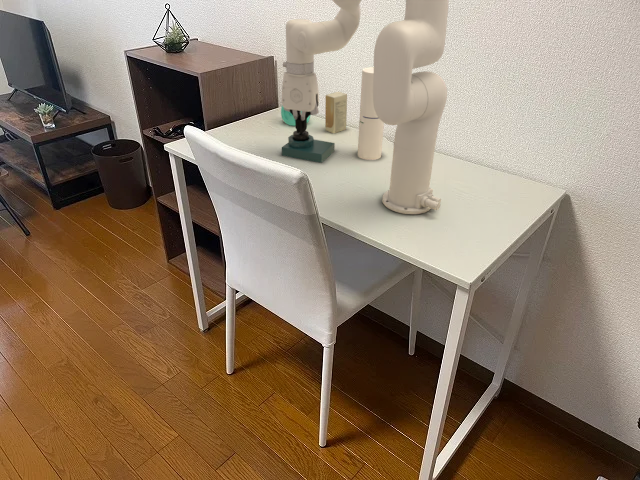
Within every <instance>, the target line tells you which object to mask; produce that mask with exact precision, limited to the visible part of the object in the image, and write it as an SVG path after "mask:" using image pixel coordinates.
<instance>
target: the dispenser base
mask: <svg viewBox="0 0 640 480" xmlns="http://www.w3.org/2000/svg"><path fill="white" fill-rule="evenodd" d="M287 140H288V141H287V143H285V144H284V145H283V146H281V156H282V157H287V158H294V159H299V160H305V161H310V162H315V163H319V164H322V163H323V162H324V161H325V160H327V158H329V157H330V156H331V155H332V154H333V153H334V152H335V150H336V149H335V146H336V145H335V144H336V143H335V142H332V141H325V140H320V139H315V138H314V136H313V135H311V134H309V140H306V141H295V140H293V134H290V135H289V136H288V138H287Z"/></svg>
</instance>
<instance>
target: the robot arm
mask: <svg viewBox="0 0 640 480" xmlns="http://www.w3.org/2000/svg"><path fill="white" fill-rule="evenodd" d="M331 1H332V2H333V3H334V4H335V5H336V6H337V7H339V8H340V9H339V11H338V12H337V13H336V16H335V17H334V18H333V19H332V20H326V21H324V20H323V21H317V22H313V21H311V20H310V19H305V18H295V19H289V20H288V21H286V24H285V52H286V57H285V58H286V61H283V62H282V67H283V68H285V70H286V71H284V73H283V78H282V84H281V107H282V106H283V107H284V110H286V111H288V112H290V113H291V114H292V115H293V117H294V119H295V125H296V126H295V129H296V131H297V133H303V132H305V131H307V128H308V123H307V118H308V117H309V116H310V115H311V116H314V115H315V116H316V115H318V114H319V108H318V107H319V104H320V94H319V93H320V92H319V82H318V77H317V74H316V72H315V55H320V54H324V53H329V52H330V53H331V52H336V51H340V50H342V49H343V48H345V47H346V46H347V45H348V43H349V42H350V41H351V40H352V38H353V36H354V35H355V34H356V32H357V30H358V29H359V25H360V23H361V22H360V21H361V6H360V4H361V2H362V0H331ZM448 13H449V0H405V10H404V19H403V20H397V21H392V22H389V23H388V24H387V25H385V26H384V27H383V28H382V29H381V30H380V32H379V34H378V35H377V38H376V41H375V45H374V48H373V49H374V50H373V67H374V76H373V102H374V108H375V112H376V114H377V116H378V118H379V119H380V120H381V121H382V122H383V123H384V125H388V126H396V127H395V133H394V141H393V151H392V161H391V171H390V181H389V190H387V191H385V192H384V193H383V195H382V200H381V201H382V203H383V205H384V206H385V208H387V209H389V210H390V211H392V212H395V213H399V214H404V215H419V214H424V213H427V212H429V211H430V210H435V211H439V209H440V208H441V202H442V199H441V198H440V197H437V196H434V195H433V191H434V188H432V187H430V185H431V178H432V171H433V166H434V165H433V163H434V156H435V150H436V144H437V139H438V138H437V137H438V133H439V127H440V123H441V119H442V116H443V114H444V110H445V107H446V104H447V97H448V89H447V84H446V82H445V81H444V79H443V77H442V76H440V75H439V74H437V73H435V72H433V71H427V70H426V71H424V70H423V71H417V72H414V73H413V70H414V69H415V70H416V69H419V68H423V67H427V66H431V65H434V64H436V63H437V62H438V61H439V60H440V59H441V58H442V57H443V54H444V51H445V45H446V37H447V27H448V25H447V24H448ZM301 111H302V113H301ZM311 116H310V117H311Z"/></svg>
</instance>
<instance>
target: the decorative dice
mask: <svg viewBox="0 0 640 480" xmlns="http://www.w3.org/2000/svg"><path fill="white" fill-rule="evenodd" d="M280 109H281V110H280V116H281V119H282V121H283V122H284V124H286V125H288V126H291V127H296V125H295V119H294V117H293V115H292V114H291V113H290V112H288V111H286V110H284V107H283V106H282V105H281V107H280ZM301 113H302V111H301ZM311 116H312V115H310V116H309V117H308V118H307V124H308V123H309V121H310V119H311Z"/></svg>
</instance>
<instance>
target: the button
mask: <svg viewBox="0 0 640 480" xmlns="http://www.w3.org/2000/svg"><path fill="white" fill-rule="evenodd" d="M292 135H293V140H295V141H306V140H309V135H310V134H309V131H308V130H306V131H305V132H303V133H297V130H294V131H293V132H292Z"/></svg>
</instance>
